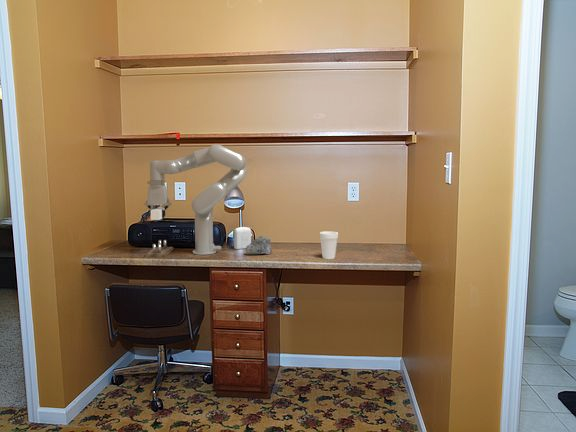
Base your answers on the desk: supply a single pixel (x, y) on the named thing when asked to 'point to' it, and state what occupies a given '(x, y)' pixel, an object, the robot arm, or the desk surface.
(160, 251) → the peg stand
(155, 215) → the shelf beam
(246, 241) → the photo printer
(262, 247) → the mineral rock
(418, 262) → the desk surface
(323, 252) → the foam cup
